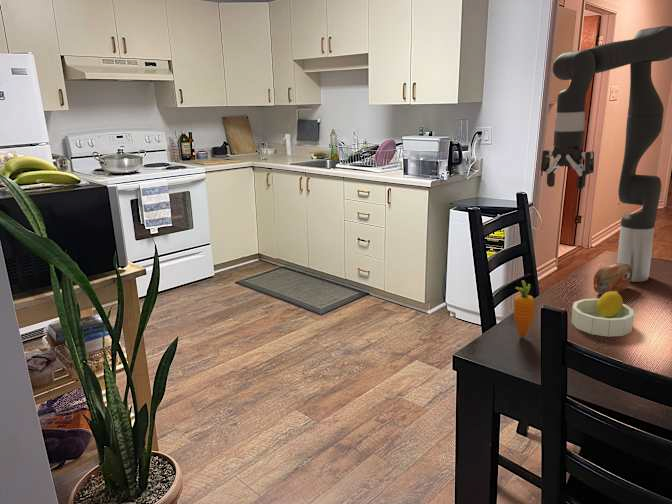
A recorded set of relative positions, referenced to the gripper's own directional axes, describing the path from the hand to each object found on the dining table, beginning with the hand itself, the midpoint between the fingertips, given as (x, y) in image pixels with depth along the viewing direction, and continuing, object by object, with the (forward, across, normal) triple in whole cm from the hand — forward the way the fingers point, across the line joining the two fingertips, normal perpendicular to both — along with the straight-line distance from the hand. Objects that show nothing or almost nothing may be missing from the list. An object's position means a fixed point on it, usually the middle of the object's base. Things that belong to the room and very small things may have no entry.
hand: (565, 187), depth 144 cm
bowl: (+33, -18, +10) cm, 39 cm away
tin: (+33, -9, -15) cm, 38 cm away
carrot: (+33, -9, +31) cm, 46 cm away
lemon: (+32, -18, +10) cm, 37 cm away
